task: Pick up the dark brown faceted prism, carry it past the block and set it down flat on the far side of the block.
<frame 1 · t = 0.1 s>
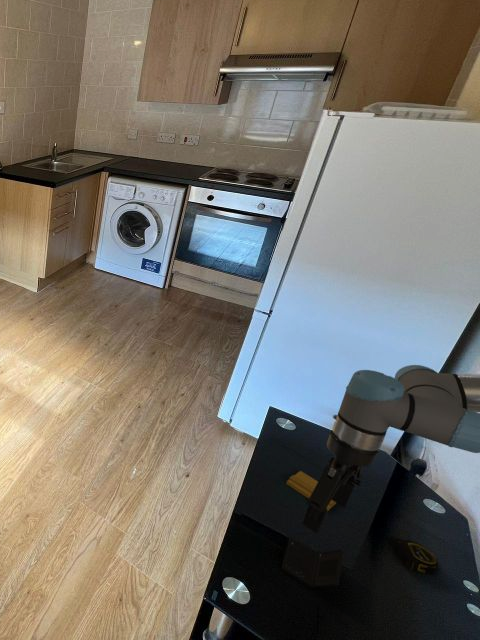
hand: (324, 515, 92), 15 cm above the table, tool pointing down, fingers open, 13 cm apart
block: (312, 491, 116), on the table
dark brown faceted prism: (308, 569, 95), on the table
tape measure: (409, 563, 97), on the table
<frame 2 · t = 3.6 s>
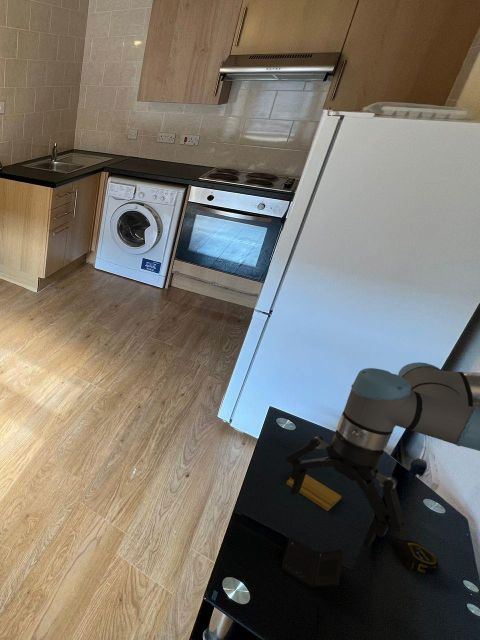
hand: (329, 515, 90), 17 cm above the table, tool pointing down, fingers open, 13 cm apart
nothing on the table moved.
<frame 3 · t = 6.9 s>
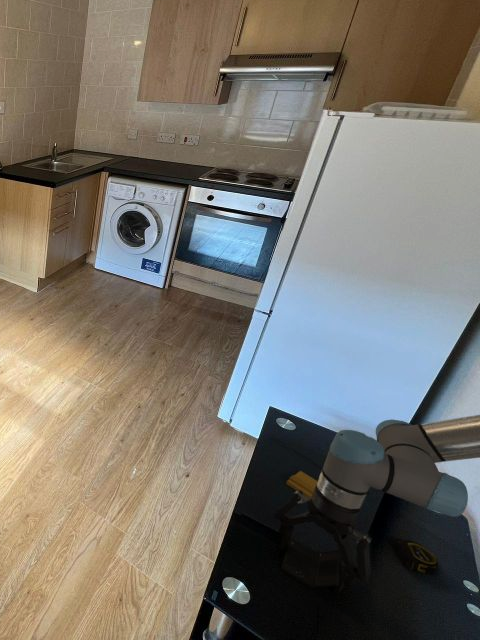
hand: (308, 567, 95), 0 cm above the table, tool pointing down, fingers closed on dark brown faceted prism, 10 cm apart
dark brown faceted prism: (308, 569, 95), on the table, touching gripper
everything else where it was.
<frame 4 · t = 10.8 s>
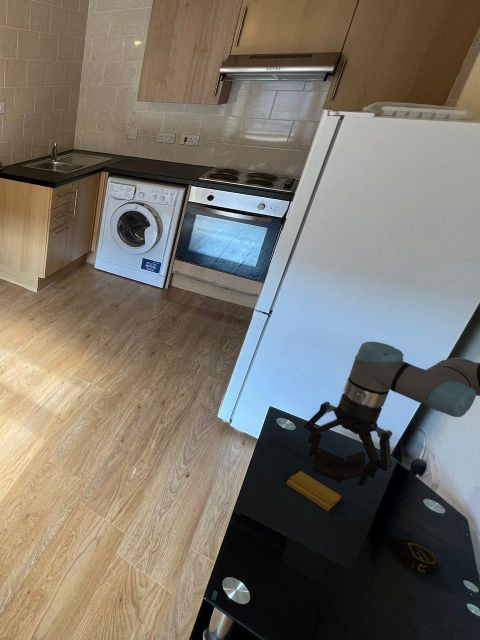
hand: (335, 468, 110), 12 cm above the table, tool pointing down, fingers closed on dark brown faceted prism, 10 cm apart
dark brown faceted prism: (335, 469, 110), point 11 cm above the table, touching gripper
everything else where it was.
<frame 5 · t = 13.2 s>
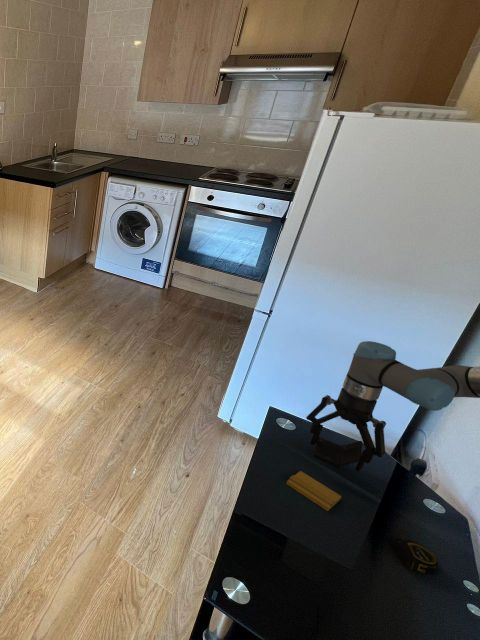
hand: (335, 455, 121), 6 cm above the table, tool pointing down, fingers closed on dark brown faceted prism, 10 cm apart
dark brown faceted prism: (334, 456, 121), point 6 cm above the table, touching gripper
everything else where it was.
when the fingers open (0 cm above the table, at t = 15.2 s): dark brown faceted prism stays where it is, on the table.
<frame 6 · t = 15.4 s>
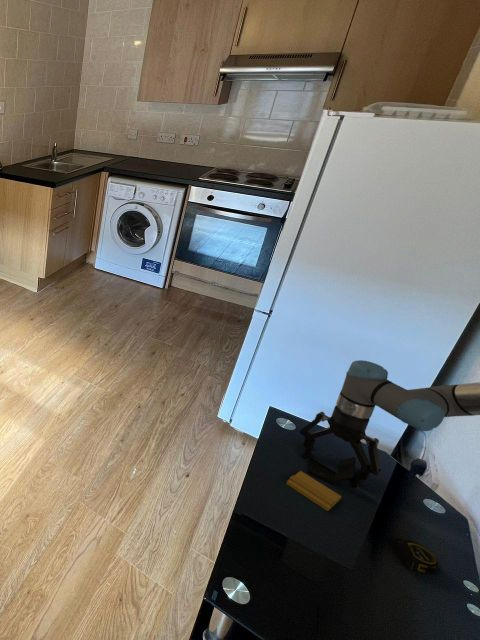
hand: (329, 470, 123), 1 cm above the table, tool pointing down, fingers open, 11 cm apart
dark brown faceted prism: (328, 472, 123), on the table
everything else where it was.
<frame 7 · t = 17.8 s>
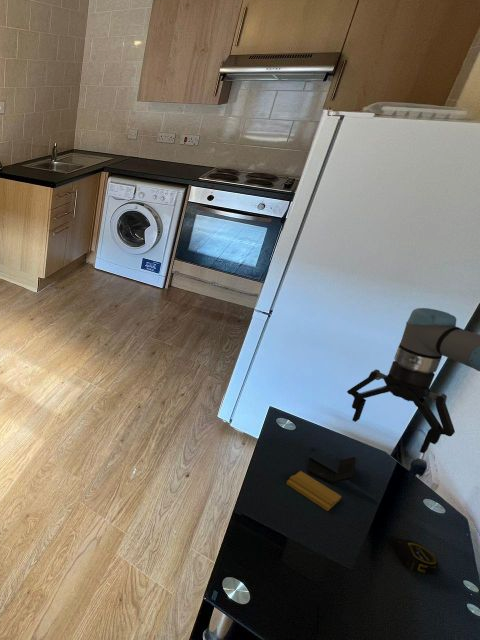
hand: (387, 434, 110), 20 cm above the table, tool pointing down, fingers open, 13 cm apart
nothing on the table moved.
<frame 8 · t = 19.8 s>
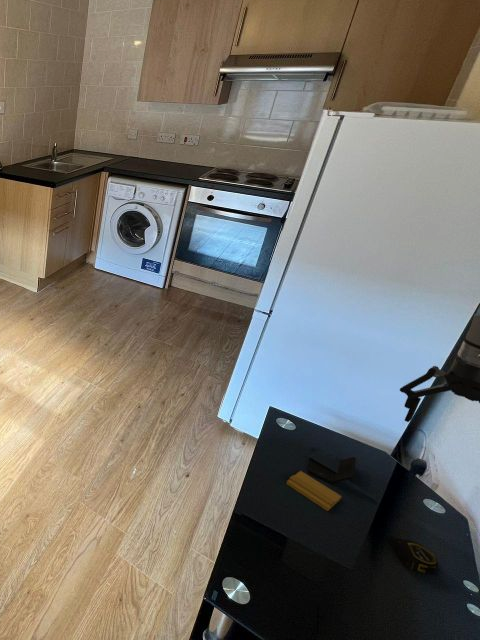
hand: (445, 436, 101), 27 cm above the table, tool pointing down, fingers open, 13 cm apart
nothing on the table moved.
at the end: dark brown faceted prism inside the target area on the table beside the block (1.4 cm from its centre), on the table; the gripper is holding nothing; dark brown faceted prism tilted 0° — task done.
